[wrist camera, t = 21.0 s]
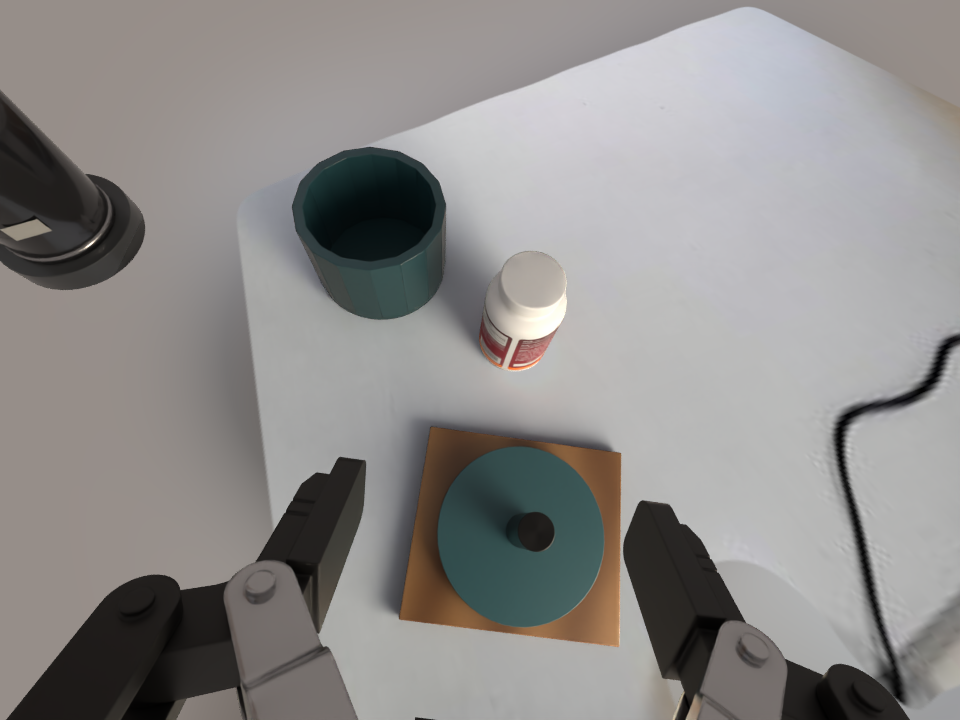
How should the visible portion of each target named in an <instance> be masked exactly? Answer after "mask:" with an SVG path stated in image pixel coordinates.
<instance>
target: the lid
mask: <svg viewBox="0 0 960 720" xmlns="http://www.w3.org/2000/svg"><path fill="white" fill-rule="evenodd" d="M437 539H438V549H439V555H440V559H441V562H442V566H443V569H444V571H445V573H446V575H447V578H448V580H449V581H450V583H451V585H452V586H453V588H454V590H455V591H456V592H457V594H458V595H459V596H460V597H461V599H462V600H463V601H464V602H465V603H466V604H467V605H468V606H469V607H471V608H472V609H473V610H475V611H476V612H477V613H479V614H480V615H482V616H484V617H485V618H487V619H489V620H491V621H494V622H497V623H499V624H502V625H507V626H512V627H535V626H540V625H544V624H548V623H550V622H553V621H555V620H557V619H559V618H561V617H563V616H564V615H566V614H568V613H569V612H570V611H571V610H573V609H574V608H575V607H576V606H577V605H578V604H579V603H580V602H581V601H582V600H583V599H584V598H585V597H586V595H587V594H588V592H589V591H590V589H591V588H592V586H593V584H594V582H595V580H596V578H597V576H598V573H599V570H600V567H601V563H602V558H603V553H604V527H603V521H602V516H601V513H600V509H599V506H598V504H597V501H596V499H595V497H594V495H593V493H592V491H591V489H590V488H589V486H588V485H587V483H586V482H585V481H584V479H583V478H582V477H581V476H580V475H579V473H578V472H577V471H576V470H575V469H574V468H572V467H571V466H570V465H569V464H568V463H566V462H565V461H563V460H562V459H560V458H559V457H557V456H555V455H553V454H551V453H549V452H546V451H543V450H540V449H536V448H531V447H522V446H515V447H505V448H500V449H496V450H494V451H491V452H488V453H486V454H484V455H482V456H480V457H478V458H477V459H475V460H474V461H472V462H471V463H470V464H469V465H468V466H466V467H465V468H464V469H463V470H462V471H461V472H460V473H459V475H458V476H457V477H456V478H455V480H454V481H453V483H452V484H451V486H450V487H449V489H448V491H447V493H446V495H445V497H444V500H443V503H442V506H441V509H440V514H439V519H438V528H437Z"/></svg>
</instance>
